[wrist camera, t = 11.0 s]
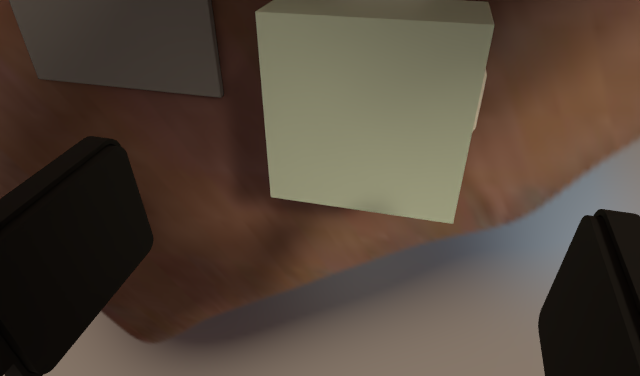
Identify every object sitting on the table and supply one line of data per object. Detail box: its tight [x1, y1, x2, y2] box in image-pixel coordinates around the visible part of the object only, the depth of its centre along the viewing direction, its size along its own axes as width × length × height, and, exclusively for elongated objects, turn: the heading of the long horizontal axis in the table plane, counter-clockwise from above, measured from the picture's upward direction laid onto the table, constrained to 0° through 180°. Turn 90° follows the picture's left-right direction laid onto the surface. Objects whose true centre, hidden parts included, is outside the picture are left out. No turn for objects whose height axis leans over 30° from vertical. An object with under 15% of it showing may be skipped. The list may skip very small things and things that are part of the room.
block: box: [255, 0, 495, 224], centre depth 16 cm, size 7×7×3 cm
